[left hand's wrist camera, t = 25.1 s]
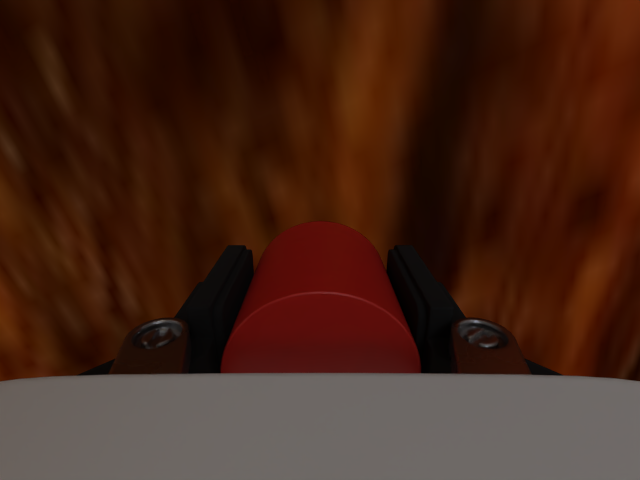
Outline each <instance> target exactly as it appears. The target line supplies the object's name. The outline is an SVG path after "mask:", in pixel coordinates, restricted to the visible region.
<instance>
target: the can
mask: <svg viewBox="0 0 640 480" xmlns="http://www.w3.org/2000/svg"><path fill="white" fill-rule="evenodd" d="M221 373H421V362H420V356H419V353H418V349H417V346H416V344H415V341H414V339H413V336H412V334H411V331H410V329H409V326H408V324H407V322H406V319H405V317H404V314H403V312H402V309H401V307H400V304H399V302H398V299H397V297H396V294H395V292H394V290H393V287H392V285H391V282H390V280H389V277H388V275H387V272H386V270H385V267H384V265H383V262H382V260H381V258H380V256H379V254H378V252H377V250H376V249H375V247H374V246H373V245H372V244H371V243H370V241H369V240H368V239H367V238H365V237H364V236H363V235H362V234H360V233H359V232H357V231H356V230H354V229H352V228H350V227H348V226H345V225H342V224H339V223H334V222H326V221H315V222H308V223H303V224H299V225H297V226H294V227H292V228H290V229H288V230H286V231H284V232H283V233H281V234H280V235H278V236H277V237H276V238H275V239H274V240H273V241H272V242H271V243H270V244H269V245H268V246H267V248H266V249H265V251H264V252H263V254H262V256H261V259H260V261H259V263H258V266H257V268H256V271H255V273H254V276H253V278H252V281H251V283H250V286H249V288H248V291H247V293H246V296H245V298H244V301H243V303H242V306H241V308H240V311H239V313H238V316H237V318H236V321H235V323H234V326H233V328H232V331H231V333H230V336H229V338H228V341H227V343H226V346H225V349H224V352H223V356H222V360H221Z"/></svg>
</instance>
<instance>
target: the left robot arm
mask: <svg viewBox="0 0 640 480" xmlns="http://www.w3.org/2000/svg"><path fill="white" fill-rule="evenodd" d="M387 275H388V277H389V280H390V282H391V285H392V287H393V290H394V292H395V294H396V297H397V299H398V302H399V304H400V307H401V309H402V312H403V314H404V317H405V319H406V322H407V324H408V326H409V329H410V331H411V334H412V336H413V339H414V341H415V344H416V346H417V349H418V353H419V356H420V362H421V373H221V360H222V356H223V352H224V349H225V346H226V343H227V341H228V338H229V336H230V333H231V331H232V328H233V326H234V323H235V321H236V318H237V316H238V313H239V311H240V308H241V306H242V303H243V301H244V298H245V296H246V293H247V291H248V288H249V286H250V283H251V281H252V278H253V276H254V269H253V256H252V250H246V246H245V245H228V246H227V248H226V249H225V251H224V252H223V254H222V255H221V257H220V258H219V260H218V261H217V263H216V264H215V265H214V267H213V268H212V270H211V271H210V273H209V274H208V276H207V277H206V279H205V280H204V282H199V283H198V284H197V286H196V287H195V289H194V290H193V292H192V293H191V294H190V296H189V297H188V299H187V300H186V302H185V303H184V304H183V306H182V307H181V309H180V310H179V312H178V313H177V314H176V316H175V317H174V318H160V319H154V320H151V321H148V322H145V323H143V324H141V325H139V326H137V327H135V328H134V329H133V330H132V331H130V332H129V333H128V335H127V336H126V337H125V339H124V341H123V343H122V346H121V348H120V350H119V352H118V354H117V356H116V359H114V360H111V361H109V362H107V363H104V364H102V365H100V366H97V367H95V368H93V369H90V370H88V371H86V372H83V373H81V374H79V375H76V376H54V377H40V378H27V379H16V380H8V381H1V382H0V480H640V381H632V380H624V379H615V378H600V377H584V376H564V375H561V374H559V373H557V372H554V371H552V370H550V369H547V368H545V367H543V366H541V365H538V364H536V363H534V362H531V361H529V360H527V359H524V356H523V354H522V352H521V350H520V348H519V346H518V343H517V341H516V339H515V337H514V336H513V335H512V333H511V332H510V331H508V330H507V329H506V328H505V327H503V326H501V325H499V324H497V323H495V322H492V321H489V320H486V319H480V318H466V317H465V316H464V314H463V313H462V311H461V310H460V308H459V307H458V306H457V304H456V303H455V301H454V300H453V298H452V297H451V296H450V294H449V293H448V291H447V290H446V288H445V287H444V285H443V284H442V283H441V282H437V281H436V280H435V279H434V277H433V276H432V274H431V273H430V271H429V270H428V268H427V267H426V265H425V264H424V262H423V261H422V259H421V258H420V256H419V255H418V253H417V252H416V250H415V249H414V247H413V246H412V245H396V246H395V247H394V250H389V251H388V259H387Z"/></svg>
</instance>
